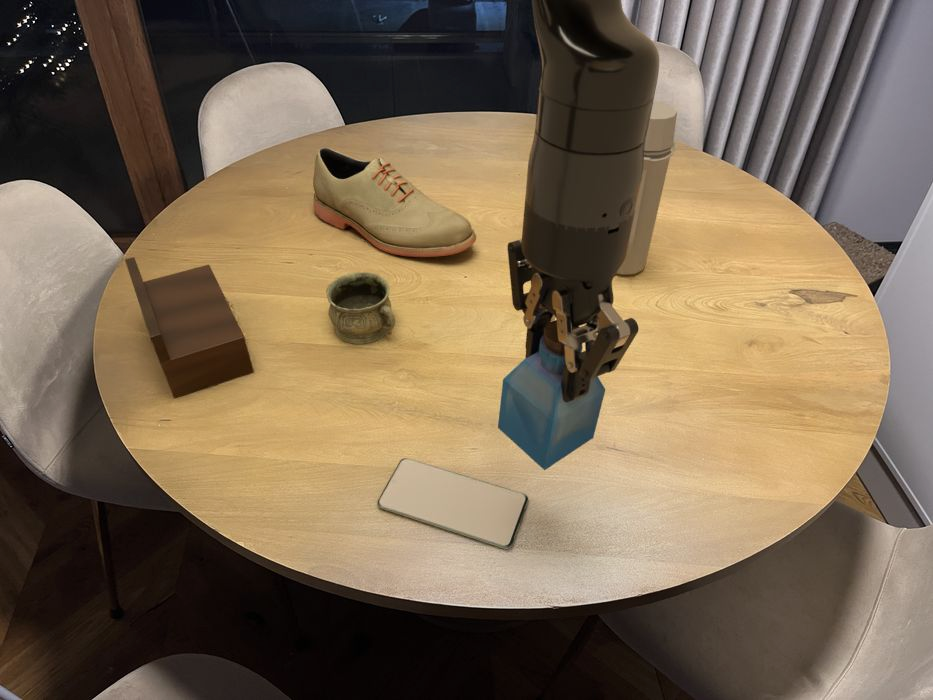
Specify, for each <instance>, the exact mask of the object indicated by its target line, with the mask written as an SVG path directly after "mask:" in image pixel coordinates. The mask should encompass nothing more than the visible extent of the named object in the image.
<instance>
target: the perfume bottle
mask: <svg viewBox="0 0 933 700" xmlns="http://www.w3.org/2000/svg"><path fill="white" fill-rule="evenodd" d="M579 327H580V326H578V327H572V330H574V329H576V328H579ZM578 350H579V353H581V352H583V343H582V344H580V345H579V348H578ZM564 365H566V363H565V350H564V344H562V343H561V342H559V340H558V331H557V319H555V320H553V321H551V322H549V323H548V324H546V326H545V327H544V335H543V336H542V338H541V339H540V346H539V352H537V353H535V354H533V355H531V356H530V357H528V358H526V359H525V358H524V359H523V360H522V361H520V363H519V364H517V366H515V368H513V369H512V370H511V371H510V372H509V373H508V374H507V375H506V376H505V377H503V378H502V384H501V385H502V386H501V395H500V402H499V403H500V404H499V413H498V422H497V428H498V430H499V431H501V432H502V433H503V434H504V435H505V436H506V437H507V438H508V439H509V440H511V441H512V442H513V444H515V445H516V446H517V447H518V448H520V450H521V451H523V452H524V453H525V454H526V455H527V456H528V457H529V458H530V459H531V460H532V461H533V462H535V464H537V465H538V466H539V467H540V468H541V469H542V470H544V471H546V470H547V469H550V468H551V467H552V466H553V465H555V464H557V463H558V462H560V461H561V460H562V459H564V458H565V457H567V456H568V455H570V454H572V453H573V452H574V451H576V450H578V449H579V448H580V447H582V446H584V445H586V443H588V442H590V441H591V440H593V439H594V437H595V433H596V430H597V424H598V422H599V417H600V414H601V413H600V412H601V409H602V405H603V401H604V397H605V394H606V388H605V386H604V384H603V383H602V381H601V379H600V377H599V376H598V377H595V378H594V379H592V380H591V381H590V387H589V392H588V394H587V395H586V396H583V397H581V398H578V399H576V400H573V401H570V402H564V400H563V395H562V388H561V380H562V374H563V367H564Z"/></svg>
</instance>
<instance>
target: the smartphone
mask: <svg viewBox="0 0 933 700" xmlns="http://www.w3.org/2000/svg"><path fill="white" fill-rule="evenodd" d="M528 503H529V497H528V495H527V494H525V493H523V492H519V491H517V490H514V489H510V488H508V487H507V488H506V487H503V486H500V485H497V484H493V483H490V482H487V481H483V480H480V479H477V478H474V477H470V476H466V475H463V474H460V473H457V472H453V471H450V470H447V469H444V468H441V467H437V466H434V465H431V464H428V463H425V462H421V461H418V460H414V459H411V458H407V457H404V458H402V459H400V460H399V462H398V464H397V466H396V468H395V469H394V471H393V473H391V476H390V478H389V480H388V481H387V483H386V485H385V486H384V488H383V491H382V492H381V494H380V496H379V498H378V499H377V506H378V508H380V509H382V510H385V511H388V512H391V513H394V514H397V515H400V516H403V517H406V518H409V519H412V520H416V521H418V522H422V523H424V524H428V525H431V526H434V527H437V528H439V529H443V530H446V531H449V532H452V533H455V534H459V535H461V536H465V537H468V538H470V539H473V540H477V541H480V542H483V543H485V544H486V543H487V544H489V545H492V546H496V547H498V548H501V549H505V550H506V549H507V550H508V549H510V548H512V546H513V545H514V542H515V539H516V535H517V533H518V532H519V529H520V528H519V527H520V525H521V522H522V519H523V517H524V515H525V512H526V509H527V506H528Z"/></svg>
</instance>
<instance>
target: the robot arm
mask: <svg viewBox="0 0 933 700" xmlns="http://www.w3.org/2000/svg"><path fill="white" fill-rule="evenodd" d="M531 7H532V16H533V24H534V29H535V34H536V39H537V44H538V49H539V55H540V73H539V83H538V92H537V104H536V113H535V115H536V116H535V125H534V126H535V127H534V133H533V138H532V143H531V147H530V152H529V157H528V163H527V164H528V165H527V171H526V172H527V173H526V185H525V197H524V210H523V220H522V233H521V239H517V240H512V241H510V242H508V243H507V256H508V258H507V259H508V268H509V279H510V290H511V291H510V292H511V300H512V301H511V302H512V306H513V308H514V309H515V311H517V312H519V311H522V313H523V314H524V315H523V318H522V321H523V324H524V326H525V327H526V336H525V344H524V345H525V358H524V359H526V358H528V357H530V356H531V355H533V354H535V353H537V352H539V346H540V339H541V338H542V336H543V335H544V327H545V326H546V324H548V323H549V322H551V321H554V320H557V331H558V340H559V342H561V343H562V344H564V350H565V363H566V365H564V367H563V374H562V380H561V388H562V395H563V400H564V402H570V401H573V400H576V399H578V398H581V397H583V396H586V395H587V394H588V392H589V387H590V381H591V380H592V379H594V378H595V377H598V378H599V377H600V376H602V375H605V374H608V373H609V374H610V373H612V372H614V371H616V369H617V367H618V365H619V364H620V362H621V361H622V359H623V357H624V356H625V354H626V353H627V351H628V349H629V348H630V346H631V345H632V343H633V341H634V339H635V338H636V337H637V335H638V333H639V324H638V322H637V320H636V319H635V318H633V317H629V318H626V319H623V318H622V317H621V316H620V314H619V313H618V312H617V310H616V309H615V307H614V306H613V304H614V299H615V298H614V291H613V280H614V278H615V276H616V275H617V274H616V273H617V271H618V270H619V268H620V267H621V265H622V264H623V262H624V260H625V257H626V253H627V248H628V243H629V238H630V233H631V228H632V223H633V219H634V214H635V209H636V204H637V199H638V194H639V190H640V185H641V180H642V174H643V165H644V148H645V141H646V136H647V131H648V126H649V121H650V116H651V111H652V106H653V101H655V95H656V91H657V90H656V89H657V85H658V78H659V72H660V71H659V70H660V53H659V50H658V47H657V45H656V44H655V43H654V42H653V40H652V39H651V38H649V36H647V35H646V34H645V33H644V32H642V31H641V30H640V29H639V28H638V27H637V26H635V25H634V24H633V23H632V22H631V21H630V19H629V18H628V17H627V15H626V13H625V12H624V8H623V4H622V0H531ZM529 282H530V288H529V290H528V292H525V291H524V285H525V284H526V283H529ZM578 326H579V328H576V329H574V330H572V327H578ZM580 344H582V345H583V344H584V347H585V350H584V351H583V350H582V352H581V353H579V350H578V348H579V345H580Z"/></svg>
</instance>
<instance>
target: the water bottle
mask: <svg viewBox="0 0 933 700" xmlns="http://www.w3.org/2000/svg"><path fill="white" fill-rule="evenodd" d="M677 116H678V111H677V109H676V107H674V106H673V105H671V104H668V103H666V102H664V101H658V100H654V101H653V106H652V111H651V116H650V121H649V126H648V131H647V136H646V141H645V148H644V165H643V174H642V180H641V185H640V190H639V194H638V199H637V204H636V209H635V214H634V219H633V223H632V228H631V233H630V238H629V243H628V248H627V253H626V257H625V260H624V262H623V264H622V265H621V267H620V268H619V270H618V271H617V273H616V274H615V275H621V276H631V275H635V274H637V273H640V272H641V271H643V270H644V269H645V266H646V264H647V261H648V256H649V252H650V249H651V243H652V239H653V238H652V237H653V234H654V231H655V230H654V229H655V226H656V221H657V216H658V211H659V207H660V203H661V198H662V195H663V190H664V185H665V182H666V177H667V172H668V168H669V164H670V160H671V157H673V155H674V153H675V152H676V142H675V132H676V125H677V124H676V123H677Z"/></svg>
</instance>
